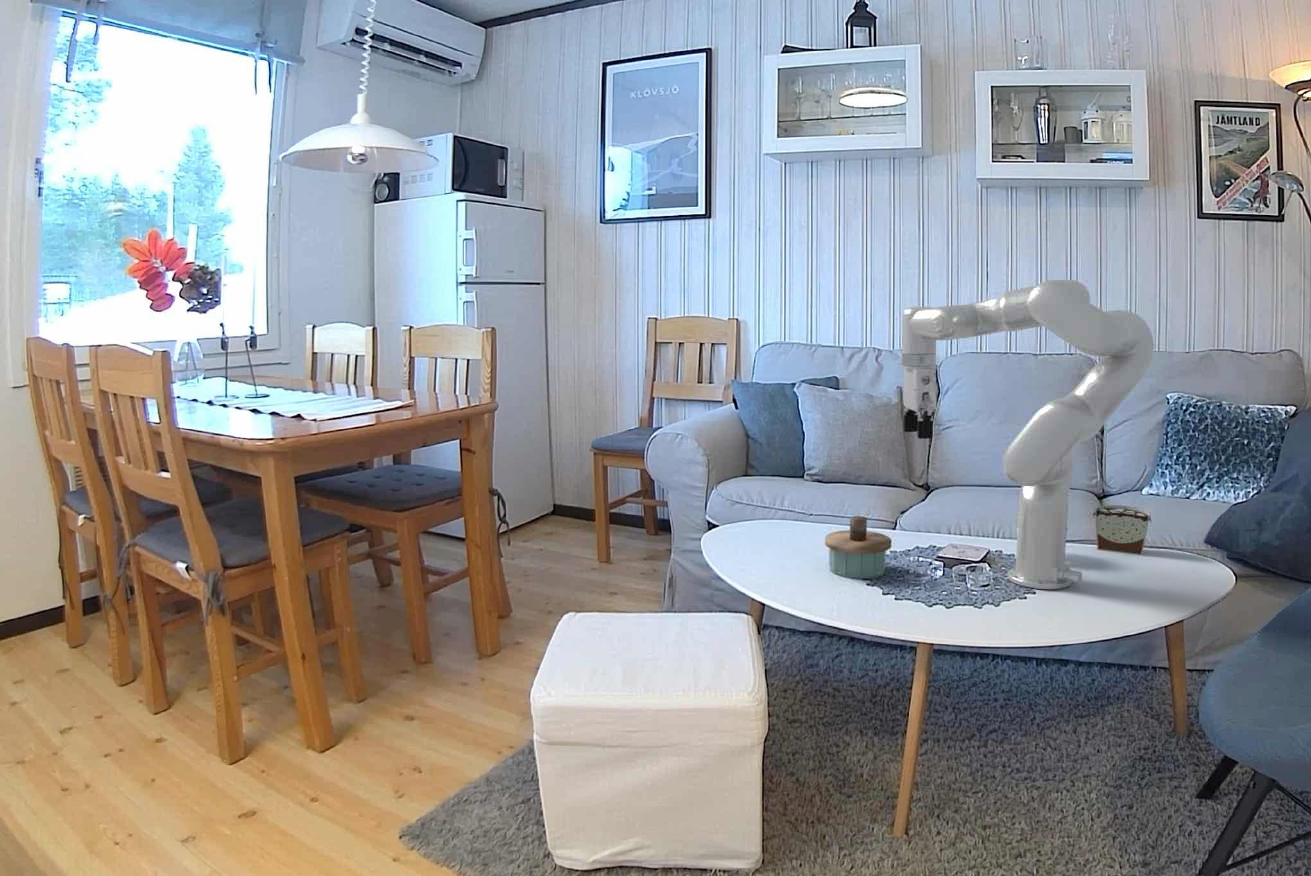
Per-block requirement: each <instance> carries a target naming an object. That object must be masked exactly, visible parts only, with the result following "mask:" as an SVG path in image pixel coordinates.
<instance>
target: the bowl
mask: <svg viewBox="0 0 1311 876" xmlns="http://www.w3.org/2000/svg"><path fill="white" fill-rule="evenodd" d="M828 553H829V554H828V555H829V557H828V558H829V559H828V560H829V561H828V562H829V563H828V564H829V565H828V566H829V571H830V572H831V573H832V574H834V575H836V576H839V577H843V578H846V579H847V578H848V579H859V580H863V579H864V580H865V579H874V578H875V579H876V578H879V577H882V576H883V575H885V572H886V566H887V565H886V563H887V559H886V558H887V557H886V556H887V550H886V551H884V552H879V553H872V554H854V553H845V552H840V551H836V550H833V549H831V548H829V551H828Z"/></svg>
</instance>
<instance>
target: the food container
mask: <svg viewBox="0 0 1311 876" xmlns="http://www.w3.org/2000/svg"><path fill="white" fill-rule="evenodd" d="M1094 516H1095V532H1096V533H1095V534H1096V549H1097V550H1098V551H1103V552H1111V553H1119V554H1127V555H1132V556H1133V555H1134V556H1143V552H1144V546H1145V540H1146V536H1147V530H1148V526H1149V522H1150V524H1152V516H1151V513H1150V512H1149V511H1148V510H1146V509H1142V508H1141V507H1140V508H1139V507H1135V506H1128V505H1119V504H1118V505H1114V504H1109V505H1108V504H1107V505H1100V506H1096V507H1095V509H1094V510H1093V514H1092V517H1094Z"/></svg>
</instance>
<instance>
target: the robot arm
mask: <svg viewBox="0 0 1311 876" xmlns="http://www.w3.org/2000/svg"><path fill="white" fill-rule="evenodd" d="M1087 288H1088V287H1086V286H1085V285H1084V284H1083V283H1081V282H1080V281H1077V280H1075V279H1068V278H1067V279H1051V280H1046V281H1043V282H1041V283H1039V284H1037V285H1033V286H1028V287H1022V288H1018V289H1017V288H1016V289H1012V290H1008V291H1005V292H1003V293H1002V295H1001V296H999V297H996V298H993V299H988V300H987V299H986V300H983V301H978V302H973V303H967V304H955V305H953V304H952V305H944V306H943V305H942V306H936V307H932V306H911V307H906V308H905V309H904V310H903V312H902V318H901V323H902V325H901V326H902V327H901V329H902V332H901V338H902V339H901V368H902V369H904V373H903V384H902V386H903V389H902V403H903V432H904V433H915V432H916V433H917V437H916V438H917V439H920V440H923V439H932V438H933V420H934V417H933V416H934V412H935V411H936V410H937V382H936V371H935V369H936V366H937V365H936V363H937V362H936V361H937V341H953V340H960V339H961V340H962V339H968V338H973V337H975V338H976V337H979V336H980V337H981V336H985V335H992V334H996V333H1002V332H1009V333H1013V332H1016V331H1018V332H1019V331H1022V330H1024V331H1025V330H1028V329H1033V328H1034V329H1035V328H1039V327H1040V328H1041V327H1044V328H1046V330H1048V331H1049V332H1051V333H1052V334H1054V335H1055V336H1057V337H1058V338H1060V339H1061V340H1063V341H1064V342H1066V343H1067V344H1069V345H1070V346H1072V347H1074V348H1075V349H1076V350H1078V351H1079V352H1080V353H1083V354H1086V355H1087V356H1091V357H1097V358H1101V359H1100V360H1099V361H1098V362H1097V363H1096V364H1095V365H1094V366H1092V368H1091V369H1090V370H1089V371H1088V372H1087V373H1086V374H1085V376H1084V377H1083V379H1082V380H1081V381H1080V382H1079V384H1077V385H1076V387H1075V388H1074V389H1073V390H1072V391H1071V392H1070V393H1069V394H1067V395H1066V396H1064V397H1061V398H1056V399H1054V400H1051V401H1049V402H1047V403H1045V404H1044V405H1043V406H1041V408H1039V409H1038V410H1037V411H1036V412H1035V413H1034V414H1033V416H1031V418H1030V419H1029V420H1028V422H1027V423H1026V424H1025V425H1024V426H1023V428H1022V429H1021V430H1020V431H1019V432H1018V434H1017V435H1016V437H1015V438H1014V439H1013V440H1012V441H1011V443H1010V444H1009V446H1008V447H1007V448H1006V450H1005V452H1004V454H1003V458H1002V469H1003V472H1004V474H1005V476H1006V478H1007V479H1008V480H1009V481H1010V482H1012V483H1013V484H1015V485H1017V486H1021V487H1020V491H1019V501H1018V515H1017V522H1018V534H1017V533H1016V538H1017V539H1016V540H1017V541H1016V557H1015V559H1016V560H1015V567H1013V568H1010V569H1009V570H1008V571H1007V578H1008V580H1009V581H1011V582H1012V583H1014V584H1017V585H1019V586H1022V587H1026V588H1029V589H1030V588H1031V589H1037V590H1038V589H1039V590H1040V589H1041V590H1060V589H1065V588H1068V587H1070V586H1071V585H1072V583H1077V584H1081V583H1082V582H1083V574H1082V573H1083V572H1082V571H1080V570H1074V569H1071V568H1070V563H1071V562H1069V561H1066V546H1067V544H1066V543H1067V532H1068V526H1067V525H1068V513H1069V497H1070V491H1071V490H1070V489H1071V483H1072V478H1073V475H1074V474H1073V473H1074V470H1075V469H1074V468H1075V452H1074V450H1073V447H1074V446H1075V445H1077V444H1079V443H1083V442H1086V441H1088V440H1090V439H1092V438H1094V436H1095V435H1096V434H1098V433H1099V431H1100V430H1101V429H1102V427H1103V426H1104V425H1105V424H1106V422H1107V421H1108V420H1109V419H1110V418H1111V416H1113V414H1114V413H1115V412H1116V411H1117V409H1118V408H1119V407H1120V406H1121V404H1123V402H1124V401H1125V400H1126V398H1128V396H1129V395H1130V394H1131V393H1132V392H1133V390H1134V389H1135V388H1136V387H1137V386H1138V384H1139V383H1140V382H1141V380H1143V378H1144V376H1145V375H1146V373H1147V371H1148V370H1149V368H1150V365H1151V363H1152V359H1153V356H1154V349H1155V348H1154V345H1155V344H1154V338H1153V334H1152V332H1151V329H1150V326H1149V325H1148V324H1147V322H1146V320H1144V319H1143V317H1141V316H1140V315H1139V314H1137V313H1136V312H1133V311H1129V310H1122V309H1118V310H1116V309H1115V310H1108V311H1107V310H1106V311H1105V310H1102V309H1100V308H1099V307H1097V306H1096V305H1094V304H1092V303H1091V295H1090V292H1089V289H1087ZM1066 531H1067V532H1066Z"/></svg>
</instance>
